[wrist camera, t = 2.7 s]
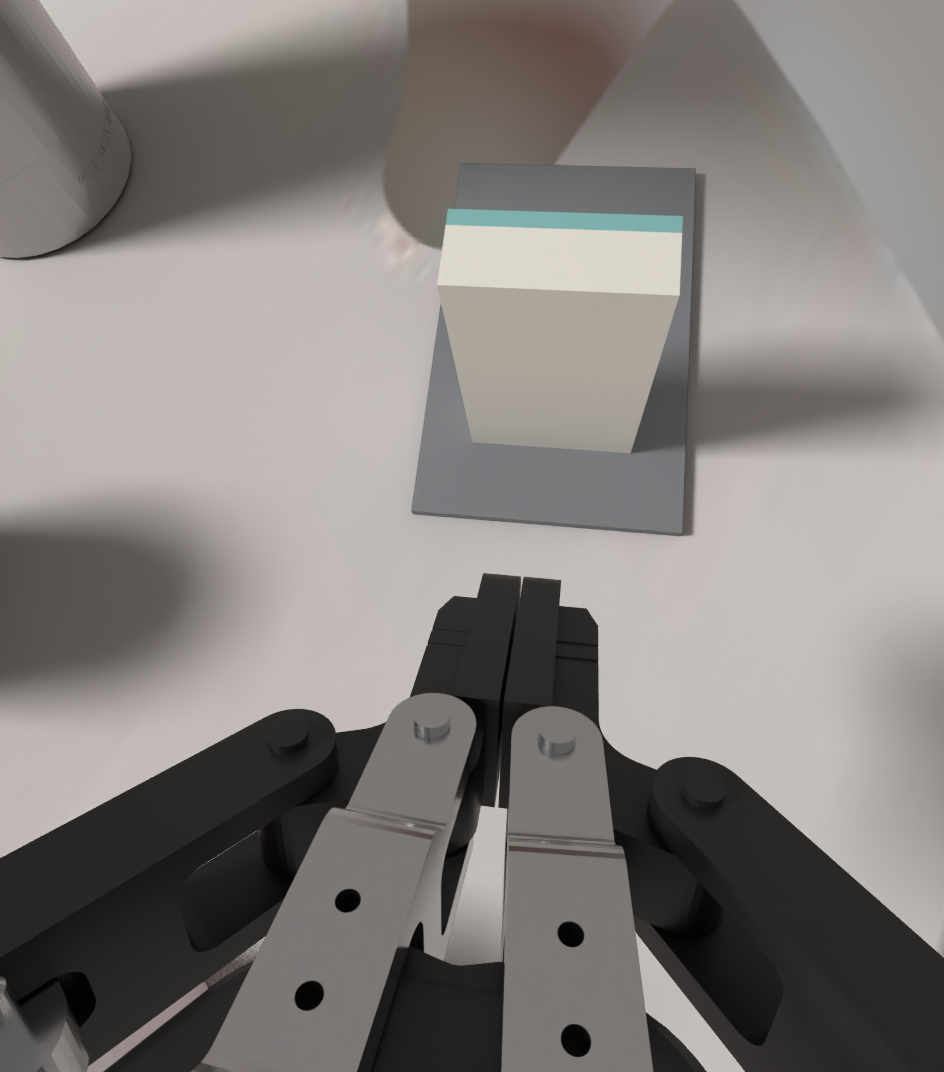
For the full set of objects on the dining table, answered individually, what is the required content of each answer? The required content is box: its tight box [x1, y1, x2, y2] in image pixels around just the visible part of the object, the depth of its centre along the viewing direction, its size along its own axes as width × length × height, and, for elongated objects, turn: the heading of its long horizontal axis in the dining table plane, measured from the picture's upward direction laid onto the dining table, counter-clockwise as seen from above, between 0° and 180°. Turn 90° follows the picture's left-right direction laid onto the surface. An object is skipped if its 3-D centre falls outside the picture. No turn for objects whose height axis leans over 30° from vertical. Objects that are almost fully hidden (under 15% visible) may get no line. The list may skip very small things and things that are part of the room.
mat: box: [411, 163, 696, 536], centre depth 29 cm, size 10×16×1 cm, turn 173°
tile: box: [437, 209, 683, 453], centre depth 23 cm, size 6×2×10 cm, turn 83°
